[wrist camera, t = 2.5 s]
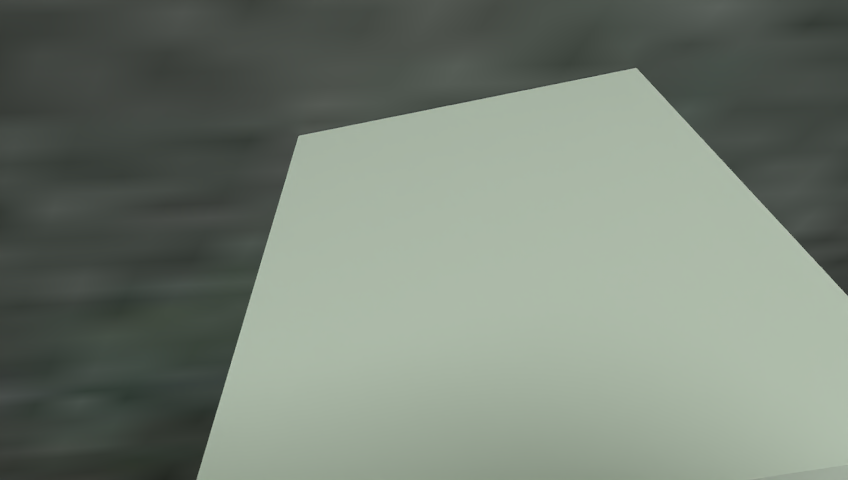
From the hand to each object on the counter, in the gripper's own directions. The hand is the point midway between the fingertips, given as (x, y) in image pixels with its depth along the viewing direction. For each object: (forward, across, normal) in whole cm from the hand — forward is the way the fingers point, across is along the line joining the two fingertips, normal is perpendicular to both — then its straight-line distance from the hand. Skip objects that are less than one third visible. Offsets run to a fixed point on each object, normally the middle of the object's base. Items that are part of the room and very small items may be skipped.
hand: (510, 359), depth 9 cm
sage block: (+1, 0, 0) cm, 1 cm away
